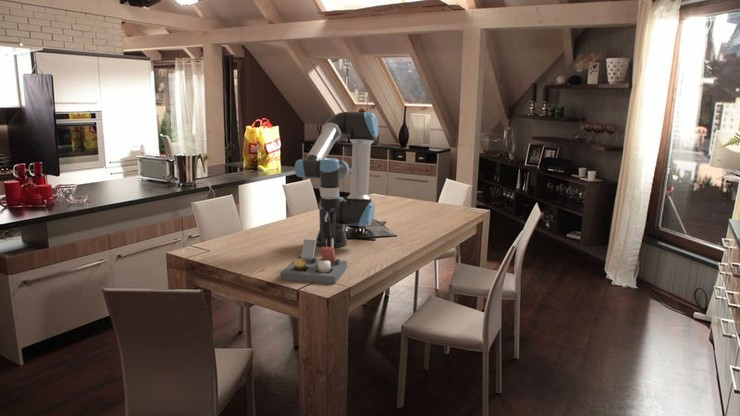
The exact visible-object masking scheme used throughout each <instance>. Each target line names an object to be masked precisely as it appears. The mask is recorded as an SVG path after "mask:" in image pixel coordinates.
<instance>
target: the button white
mask: <svg viewBox="0 0 740 416" xmlns="http://www.w3.org/2000/svg"><path fill="white" fill-rule="evenodd" d="M318 271H319V272H323V273H325V272H330V271H331V262H330V261H328V260H321V261H318Z"/></svg>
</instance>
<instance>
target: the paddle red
mask: <svg viewBox="0 0 740 416" xmlns="http://www.w3.org/2000/svg"><path fill="white" fill-rule="evenodd" d="M320 251H321V256H322V258H323V260H328V261H330V262H331V263H333V264H336V260H337V259H336V258H337V257H336V253H335V248H333V247H320Z"/></svg>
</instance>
